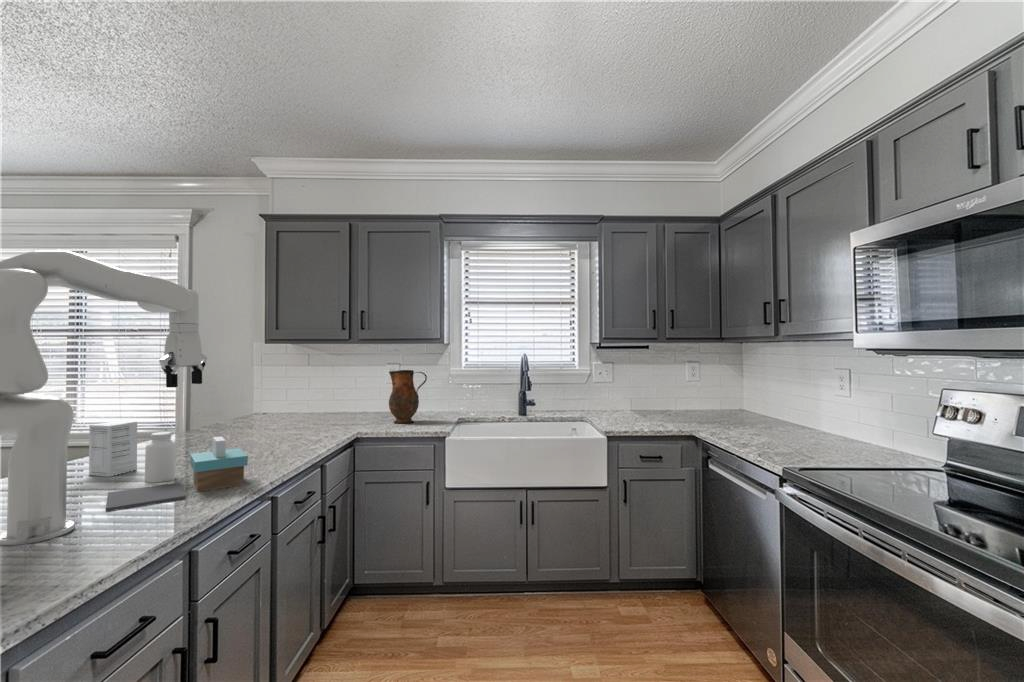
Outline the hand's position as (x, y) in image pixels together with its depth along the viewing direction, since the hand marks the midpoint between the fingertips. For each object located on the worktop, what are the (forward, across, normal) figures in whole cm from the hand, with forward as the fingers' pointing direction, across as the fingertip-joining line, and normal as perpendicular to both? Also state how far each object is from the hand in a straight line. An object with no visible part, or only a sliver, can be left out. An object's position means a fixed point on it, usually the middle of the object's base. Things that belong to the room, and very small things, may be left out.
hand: (184, 385), depth 146 cm
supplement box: (+32, -11, -36) cm, 49 cm away
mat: (+31, +12, -2) cm, 33 cm away
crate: (+31, -3, +8) cm, 32 cm away
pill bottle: (+31, -5, -13) cm, 34 cm away
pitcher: (+35, -128, +28) cm, 136 cm away
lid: (+25, -3, +8) cm, 27 cm away
